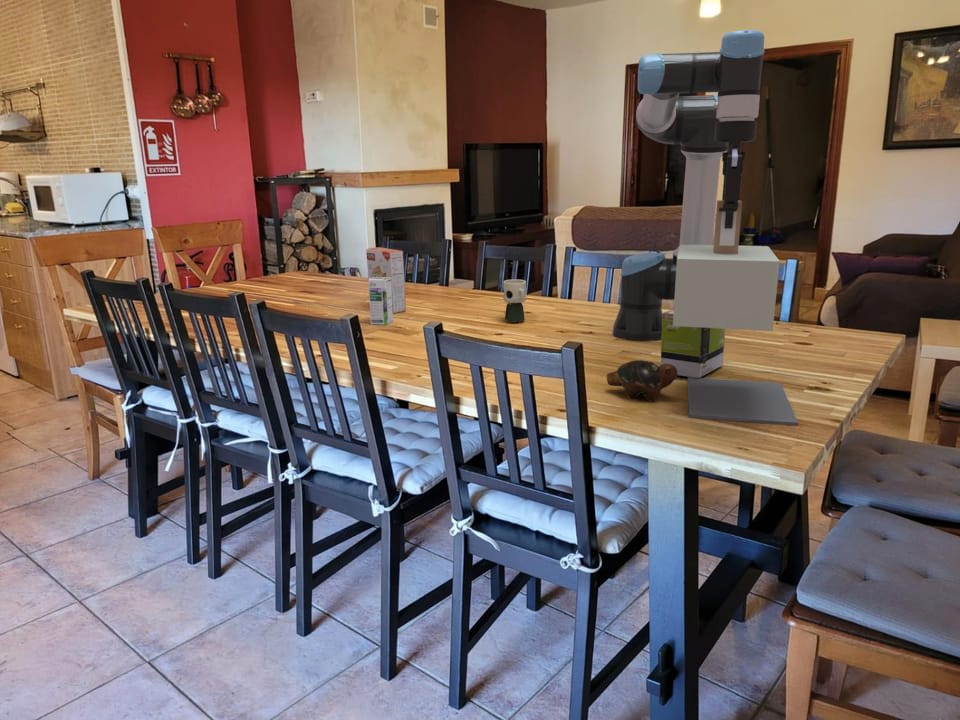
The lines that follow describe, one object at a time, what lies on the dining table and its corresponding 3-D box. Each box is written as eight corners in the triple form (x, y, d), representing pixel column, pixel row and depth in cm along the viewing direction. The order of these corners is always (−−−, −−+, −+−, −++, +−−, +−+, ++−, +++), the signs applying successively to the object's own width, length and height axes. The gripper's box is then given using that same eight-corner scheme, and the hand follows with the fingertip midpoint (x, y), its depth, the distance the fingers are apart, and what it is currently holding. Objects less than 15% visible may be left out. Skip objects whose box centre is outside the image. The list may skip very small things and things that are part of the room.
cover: (676, 303, 156) (683, 197, 150) (762, 306, 151) (773, 197, 145) (672, 325, 135) (680, 204, 129) (772, 331, 130) (785, 204, 124)
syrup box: (370, 324, 220) (367, 279, 216) (377, 320, 226) (374, 276, 222) (387, 325, 219) (384, 279, 215) (393, 321, 224) (391, 276, 220)
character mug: (496, 319, 224) (496, 279, 220) (516, 317, 227) (516, 277, 223) (513, 326, 215) (513, 284, 211) (533, 324, 218) (533, 282, 214)
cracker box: (368, 308, 244) (365, 248, 239) (383, 305, 248) (379, 246, 242) (392, 314, 234) (388, 251, 229) (406, 311, 238) (403, 250, 232)
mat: (687, 379, 162) (687, 377, 161) (780, 385, 156) (780, 383, 156) (688, 417, 139) (689, 414, 138) (797, 425, 133) (798, 422, 133)
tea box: (684, 360, 177) (688, 302, 173) (723, 366, 171) (728, 306, 167) (658, 372, 166) (661, 310, 162) (699, 379, 159) (704, 315, 156)
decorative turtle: (675, 406, 145) (674, 369, 142) (602, 402, 150) (601, 367, 148) (680, 389, 153) (680, 355, 151) (611, 387, 159) (610, 353, 157)
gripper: (714, 122, 142) (706, 238, 148) (716, 118, 126) (706, 248, 132) (754, 121, 140) (743, 239, 146) (761, 117, 124) (749, 249, 130)
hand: (726, 243), depth 139 cm, fingers closed on cover, 4 cm apart
